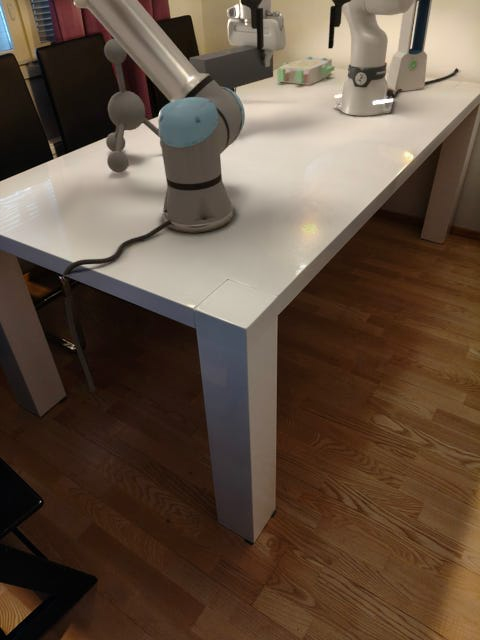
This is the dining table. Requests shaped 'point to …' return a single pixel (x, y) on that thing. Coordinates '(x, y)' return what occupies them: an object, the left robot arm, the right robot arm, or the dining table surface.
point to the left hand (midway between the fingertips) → (295, 48)
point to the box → (234, 66)
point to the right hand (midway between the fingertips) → (256, 65)
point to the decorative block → (305, 71)
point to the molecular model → (122, 111)
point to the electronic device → (411, 50)
